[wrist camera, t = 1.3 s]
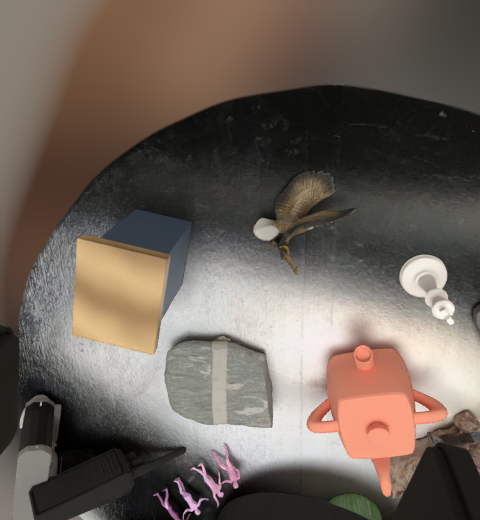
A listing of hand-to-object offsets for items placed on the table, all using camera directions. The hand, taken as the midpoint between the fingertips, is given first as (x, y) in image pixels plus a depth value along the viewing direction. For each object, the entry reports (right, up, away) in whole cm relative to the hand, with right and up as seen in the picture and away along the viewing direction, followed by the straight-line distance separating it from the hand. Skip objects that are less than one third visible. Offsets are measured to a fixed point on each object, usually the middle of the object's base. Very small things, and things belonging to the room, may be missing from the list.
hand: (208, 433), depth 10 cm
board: (-10, +1, +31) cm, 33 cm away
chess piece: (+21, +2, +40) cm, 45 cm away
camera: (-24, -27, +48) cm, 60 cm away
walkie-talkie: (-25, -27, +45) cm, 58 cm away
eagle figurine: (+8, +9, +39) cm, 40 cm away
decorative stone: (+1, -12, +50) cm, 51 cm away
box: (-9, +5, +42) cm, 43 cm away
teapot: (+16, -11, +45) cm, 49 cm away
